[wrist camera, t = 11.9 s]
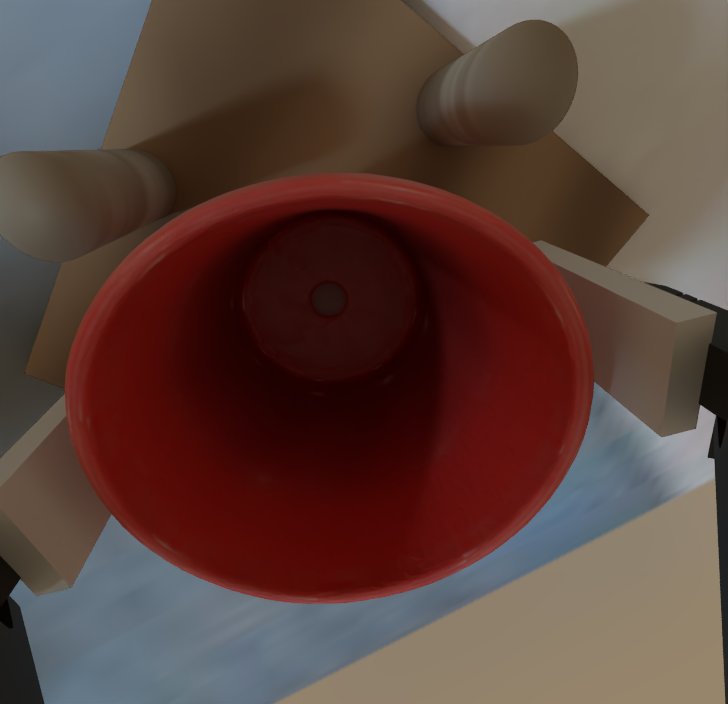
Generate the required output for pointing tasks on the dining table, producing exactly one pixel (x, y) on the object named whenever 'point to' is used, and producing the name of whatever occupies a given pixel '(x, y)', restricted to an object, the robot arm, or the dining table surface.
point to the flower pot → (329, 387)
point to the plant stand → (307, 135)
